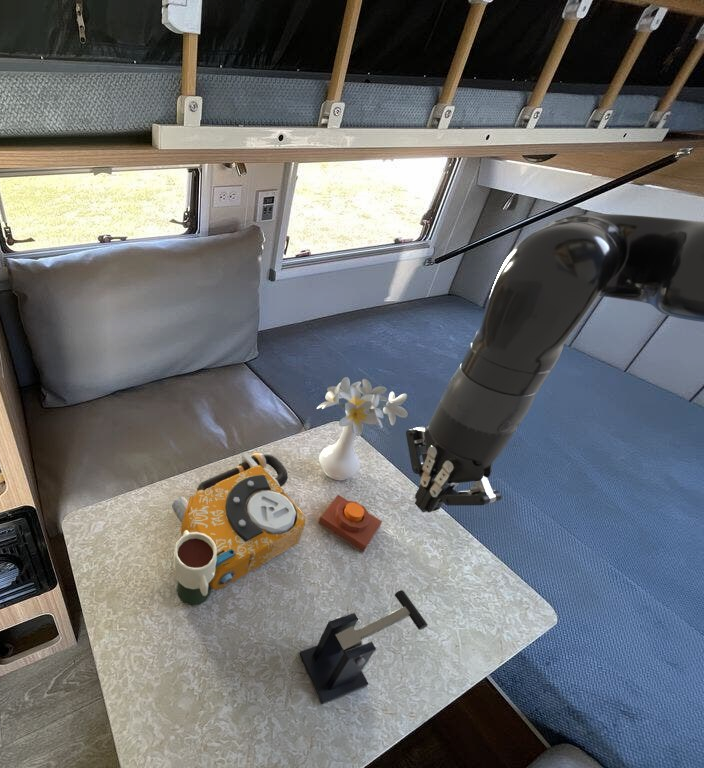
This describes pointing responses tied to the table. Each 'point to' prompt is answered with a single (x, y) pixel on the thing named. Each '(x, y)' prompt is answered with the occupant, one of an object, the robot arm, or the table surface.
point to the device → (243, 516)
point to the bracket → (336, 662)
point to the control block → (349, 524)
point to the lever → (381, 624)
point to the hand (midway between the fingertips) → (423, 506)
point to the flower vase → (355, 423)
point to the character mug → (194, 567)
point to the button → (354, 512)
